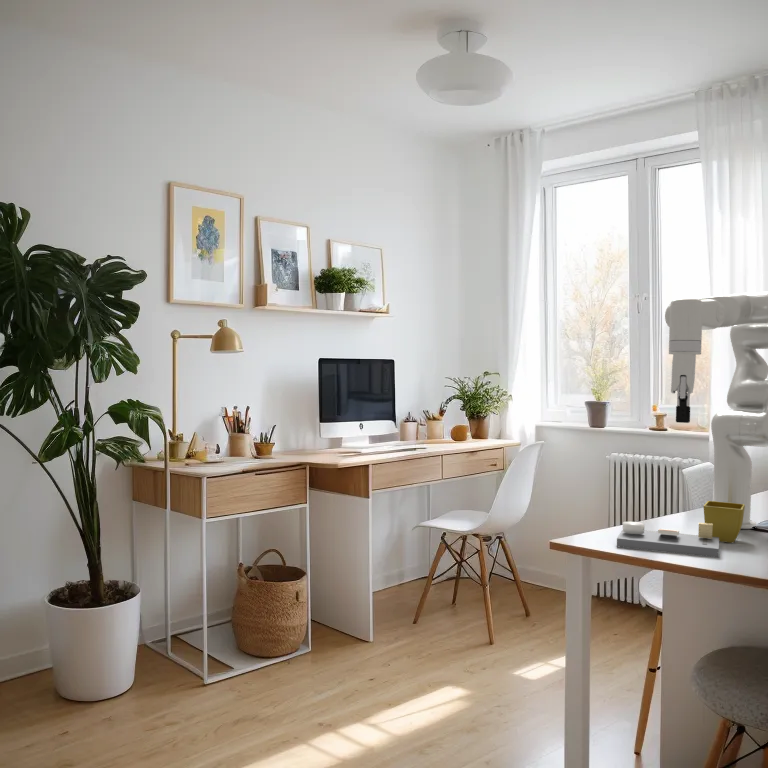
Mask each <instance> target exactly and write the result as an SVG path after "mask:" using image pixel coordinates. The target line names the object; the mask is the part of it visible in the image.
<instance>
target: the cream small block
mask: <svg viewBox="0 0 768 768" xmlns="http://www.w3.org/2000/svg"><path fill="white" fill-rule="evenodd" d="M712 528H713V524H710V523H705V522H698V534H697V535H698V537H699V538H710V539H712Z"/></svg>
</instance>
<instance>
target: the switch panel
mask: <svg viewBox="0 0 768 768" xmlns="http://www.w3.org/2000/svg"><path fill="white" fill-rule="evenodd" d="M623 547H624V549H634V550H643V551H651V552H652V551H653V552H663V553H670V554H671V553H672V554H680V555H690V556H699V557H709V558H715V559H716V558H717V559H719V558H720V541H719V537H712V539H710V538H699V537H698V534H688V533H680V532H679V535H669V534H659V533H658V530H657V531H656V530H648V529H644V534H630V533H625V532H623V529H622V530H621V531H620V532H619V534H618V536H617V538H616V548H623Z"/></svg>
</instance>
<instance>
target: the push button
mask: <svg viewBox="0 0 768 768" xmlns="http://www.w3.org/2000/svg"><path fill="white" fill-rule="evenodd" d="M645 526H646V524H645V523H642V522H638V521H623V522H622V530H623V532H625V533H630V534H644V530H645Z"/></svg>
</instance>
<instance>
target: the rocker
mask: <svg viewBox="0 0 768 768" xmlns="http://www.w3.org/2000/svg"><path fill="white" fill-rule="evenodd" d="M657 531H658V533H659V534H669V535H679V533H680V529H679V530H677V529H666V528H659V529H658V530H657Z"/></svg>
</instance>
